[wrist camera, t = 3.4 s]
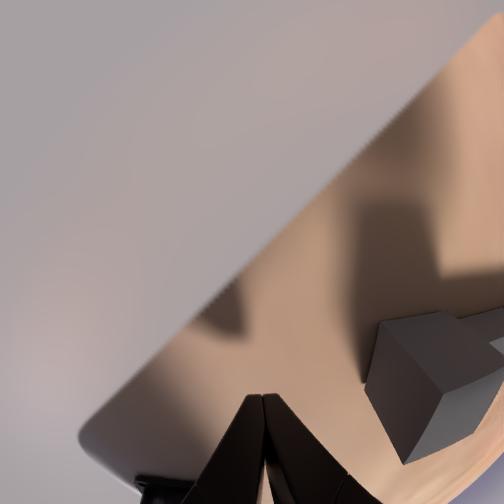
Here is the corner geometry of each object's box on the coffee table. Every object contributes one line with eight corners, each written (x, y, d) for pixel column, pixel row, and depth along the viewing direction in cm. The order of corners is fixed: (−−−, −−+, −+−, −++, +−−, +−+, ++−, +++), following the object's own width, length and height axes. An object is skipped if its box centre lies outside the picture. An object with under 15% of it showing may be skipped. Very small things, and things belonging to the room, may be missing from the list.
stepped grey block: (364, 390, 9) (403, 465, 5) (380, 321, 8) (443, 394, 4) (520, 337, 9) (560, 367, 5) (535, 288, 8) (581, 313, 5)
